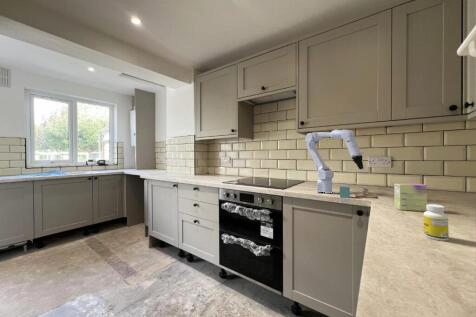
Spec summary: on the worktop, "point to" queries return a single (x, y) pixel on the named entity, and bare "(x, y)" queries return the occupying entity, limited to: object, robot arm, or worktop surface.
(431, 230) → the supplement bottle
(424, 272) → the worktop surface
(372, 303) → the worktop surface
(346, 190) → the teal rectangular block
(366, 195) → the post board
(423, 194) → the box
